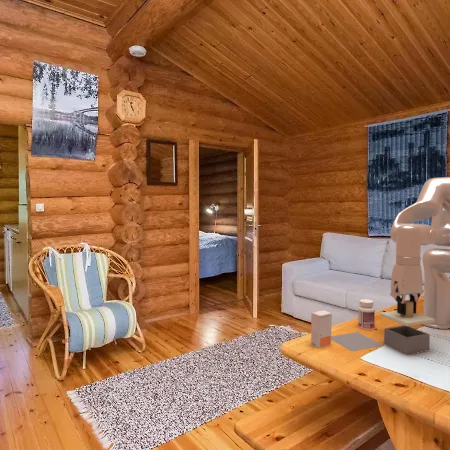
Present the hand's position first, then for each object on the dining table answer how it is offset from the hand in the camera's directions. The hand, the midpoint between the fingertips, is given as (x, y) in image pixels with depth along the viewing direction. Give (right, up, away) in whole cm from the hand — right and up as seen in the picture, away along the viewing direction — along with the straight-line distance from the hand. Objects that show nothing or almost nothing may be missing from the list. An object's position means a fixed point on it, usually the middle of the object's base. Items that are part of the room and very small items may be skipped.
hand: (406, 312), depth 125 cm
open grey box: (0, -13, +1) cm, 13 cm away
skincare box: (-29, -13, +5) cm, 32 cm away
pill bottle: (-6, -12, +21) cm, 25 cm away
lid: (0, -2, 0) cm, 2 cm away
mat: (-16, -12, +7) cm, 21 cm away
